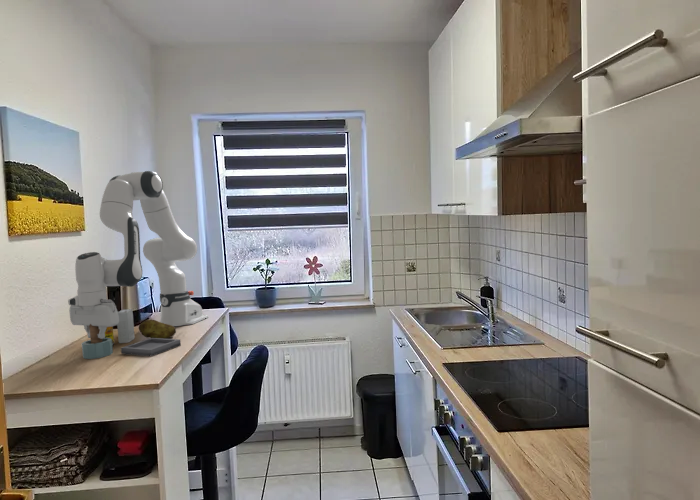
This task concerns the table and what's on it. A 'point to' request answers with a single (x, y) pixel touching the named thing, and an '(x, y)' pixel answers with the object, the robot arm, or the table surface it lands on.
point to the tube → (97, 349)
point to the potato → (156, 329)
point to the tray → (150, 346)
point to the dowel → (94, 334)
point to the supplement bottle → (109, 333)
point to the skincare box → (125, 326)
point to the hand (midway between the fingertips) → (96, 337)
